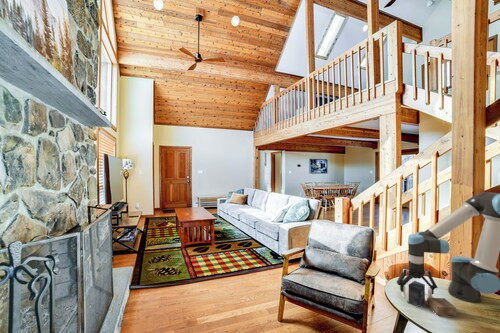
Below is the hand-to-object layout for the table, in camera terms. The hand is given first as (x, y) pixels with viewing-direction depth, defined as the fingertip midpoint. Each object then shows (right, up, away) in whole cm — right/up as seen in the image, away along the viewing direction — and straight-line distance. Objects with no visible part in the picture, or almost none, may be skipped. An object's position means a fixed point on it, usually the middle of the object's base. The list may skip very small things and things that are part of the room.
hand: (416, 298), depth 140 cm
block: (+7, -2, -9) cm, 12 cm away
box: (0, -3, 0) cm, 2 cm away
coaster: (+8, -2, +4) cm, 9 cm away
